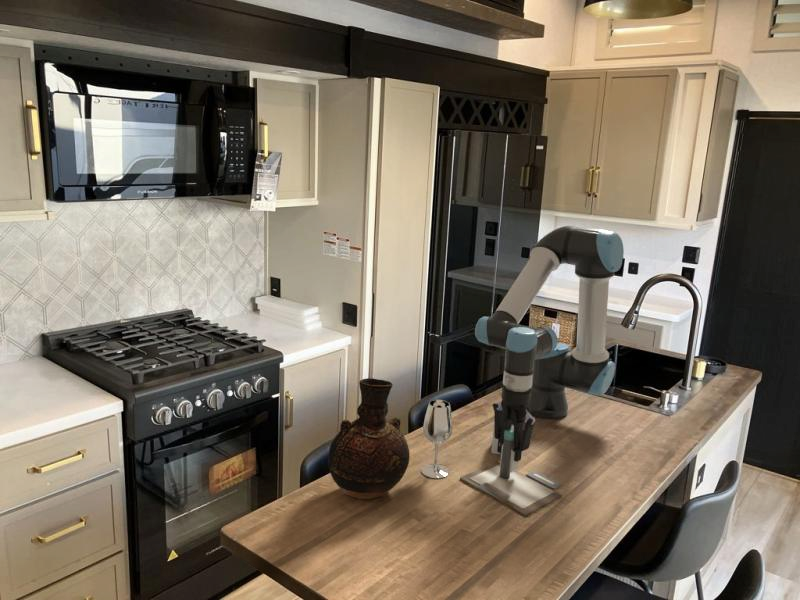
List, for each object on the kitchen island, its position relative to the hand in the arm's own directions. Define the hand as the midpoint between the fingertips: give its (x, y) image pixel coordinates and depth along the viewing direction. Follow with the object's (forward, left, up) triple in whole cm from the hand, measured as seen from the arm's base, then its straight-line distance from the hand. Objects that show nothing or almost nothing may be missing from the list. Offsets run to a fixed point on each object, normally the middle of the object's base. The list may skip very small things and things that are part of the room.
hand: (508, 468), depth 174 cm
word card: (-7, +7, -3) cm, 10 cm away
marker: (+1, 0, -2) cm, 2 cm away
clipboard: (+4, +4, -3) cm, 6 cm away
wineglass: (+14, -14, -3) cm, 20 cm away
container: (-12, -11, -3) cm, 17 cm away
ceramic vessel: (+35, -17, -3) cm, 39 cm away
